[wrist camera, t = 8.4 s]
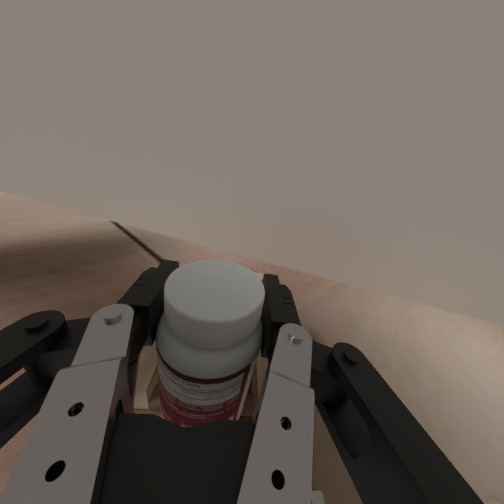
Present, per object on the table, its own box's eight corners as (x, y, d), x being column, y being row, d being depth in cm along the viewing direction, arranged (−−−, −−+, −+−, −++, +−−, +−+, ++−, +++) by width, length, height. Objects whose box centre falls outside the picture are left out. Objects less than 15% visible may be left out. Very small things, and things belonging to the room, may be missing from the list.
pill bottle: (199, 347, 15) (208, 245, 11) (256, 385, 13) (290, 279, 9) (139, 411, 11) (121, 285, 7) (210, 476, 9) (235, 358, 5)
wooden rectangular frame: (127, 407, 12) (123, 388, 11) (187, 278, 23) (187, 263, 22) (271, 417, 13) (278, 400, 12) (260, 287, 24) (263, 274, 23)
